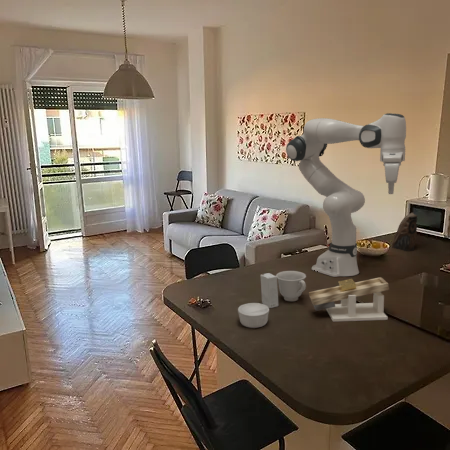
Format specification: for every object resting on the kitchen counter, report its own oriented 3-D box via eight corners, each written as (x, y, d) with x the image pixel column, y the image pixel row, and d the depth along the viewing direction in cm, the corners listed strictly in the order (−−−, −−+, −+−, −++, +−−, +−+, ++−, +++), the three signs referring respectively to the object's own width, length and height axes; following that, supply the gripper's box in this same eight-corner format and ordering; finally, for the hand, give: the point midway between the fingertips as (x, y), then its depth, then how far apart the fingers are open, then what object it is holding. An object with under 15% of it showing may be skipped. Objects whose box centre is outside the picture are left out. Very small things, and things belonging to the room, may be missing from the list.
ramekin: (260, 332, 138) (260, 317, 137) (232, 325, 144) (231, 311, 143) (274, 319, 147) (274, 305, 146) (247, 314, 153) (247, 300, 152)
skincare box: (278, 306, 159) (278, 276, 157) (269, 308, 157) (268, 278, 155) (270, 301, 165) (269, 272, 162) (260, 303, 163) (260, 274, 160)
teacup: (292, 309, 156) (292, 284, 154) (270, 297, 169) (269, 274, 167) (317, 302, 161) (317, 278, 159) (294, 291, 174) (294, 268, 172)
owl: (410, 245, 240) (411, 211, 236) (424, 250, 228) (426, 214, 224) (390, 247, 238) (392, 213, 234) (404, 252, 226) (406, 216, 222)
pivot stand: (332, 321, 144) (333, 297, 142) (324, 307, 156) (324, 285, 155) (387, 319, 143) (388, 295, 142) (374, 305, 156) (375, 283, 154)
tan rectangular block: (342, 294, 146) (341, 285, 146) (339, 290, 150) (338, 281, 150) (356, 291, 146) (355, 282, 145) (353, 287, 150) (351, 278, 149)
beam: (315, 312, 146) (312, 299, 145) (310, 303, 154) (308, 291, 153) (390, 296, 144) (388, 283, 143) (382, 288, 152) (380, 276, 151)
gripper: (384, 155, 168) (383, 189, 170) (382, 158, 149) (381, 195, 152) (401, 155, 165) (399, 189, 168) (401, 157, 147) (400, 195, 149)
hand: (391, 192), depth 160 cm, fingers open, 8 cm apart
